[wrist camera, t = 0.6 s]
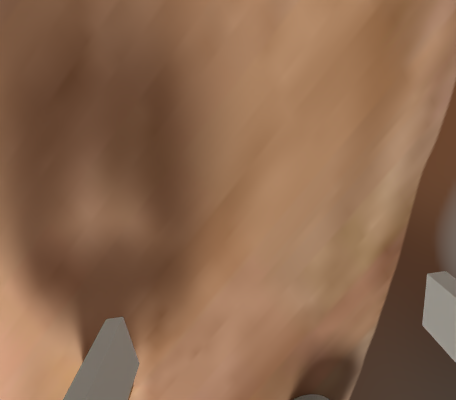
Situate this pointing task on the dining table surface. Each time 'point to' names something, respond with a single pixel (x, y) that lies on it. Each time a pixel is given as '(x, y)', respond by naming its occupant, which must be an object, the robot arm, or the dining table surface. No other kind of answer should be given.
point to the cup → (311, 397)
